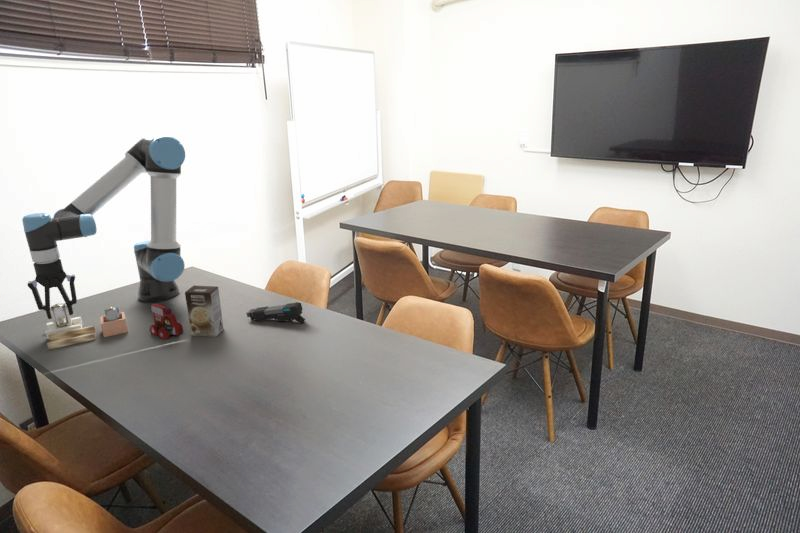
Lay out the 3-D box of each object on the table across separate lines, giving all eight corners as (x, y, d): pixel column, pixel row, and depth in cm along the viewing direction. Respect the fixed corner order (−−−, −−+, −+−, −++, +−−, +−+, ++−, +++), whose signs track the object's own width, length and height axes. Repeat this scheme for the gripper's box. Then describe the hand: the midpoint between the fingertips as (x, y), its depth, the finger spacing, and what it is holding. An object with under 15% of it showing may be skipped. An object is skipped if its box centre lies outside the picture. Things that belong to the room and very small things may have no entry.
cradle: (82, 324, 175) (80, 316, 174) (82, 333, 168) (80, 325, 167) (48, 330, 170) (46, 323, 169) (47, 340, 163) (45, 332, 162)
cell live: (70, 323, 171) (64, 301, 168) (70, 327, 168) (64, 304, 165) (56, 326, 169) (50, 303, 166) (56, 330, 166) (50, 307, 163)
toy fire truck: (169, 343, 160) (163, 314, 157) (147, 334, 166) (142, 306, 163) (187, 335, 165) (183, 306, 162) (166, 326, 172) (161, 299, 168)
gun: (303, 324, 171) (292, 299, 168) (256, 338, 176) (245, 313, 174) (308, 319, 175) (297, 294, 172) (262, 332, 180) (251, 308, 178)
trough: (95, 332, 168) (94, 325, 167) (96, 340, 162) (94, 333, 161) (50, 341, 162) (48, 334, 161) (49, 351, 156) (47, 343, 155)
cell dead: (122, 327, 171) (117, 304, 168) (122, 331, 167) (117, 308, 165) (109, 329, 169) (104, 306, 166) (108, 333, 165) (104, 310, 163)
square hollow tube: (127, 325, 173) (123, 311, 171) (128, 333, 167) (125, 318, 165) (103, 330, 169) (100, 316, 168) (104, 338, 163) (100, 323, 162)
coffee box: (190, 336, 164) (183, 292, 159) (199, 328, 170) (192, 285, 165) (216, 337, 163) (209, 292, 158) (224, 328, 169) (218, 285, 164)
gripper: (76, 253, 168) (91, 315, 175) (17, 261, 160) (35, 326, 167) (76, 259, 162) (91, 323, 169) (14, 267, 153) (33, 335, 161)
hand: (63, 324), depth 168 cm, fingers closed on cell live, 3 cm apart
